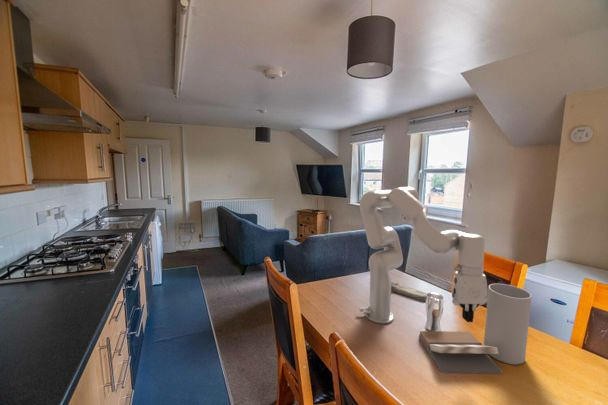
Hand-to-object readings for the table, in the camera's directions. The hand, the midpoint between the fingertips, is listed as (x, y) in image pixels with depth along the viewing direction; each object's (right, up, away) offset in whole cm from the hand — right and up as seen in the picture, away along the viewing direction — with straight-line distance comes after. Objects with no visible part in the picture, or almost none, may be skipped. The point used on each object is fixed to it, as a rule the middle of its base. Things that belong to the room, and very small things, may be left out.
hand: (467, 320), depth 93 cm
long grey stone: (-3, -10, +60) cm, 61 cm away
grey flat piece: (0, -16, +7) cm, 17 cm away
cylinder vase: (+18, -16, +7) cm, 25 cm away
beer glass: (-1, -14, +23) cm, 27 cm away
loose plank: (0, -12, +2) cm, 12 cm away
